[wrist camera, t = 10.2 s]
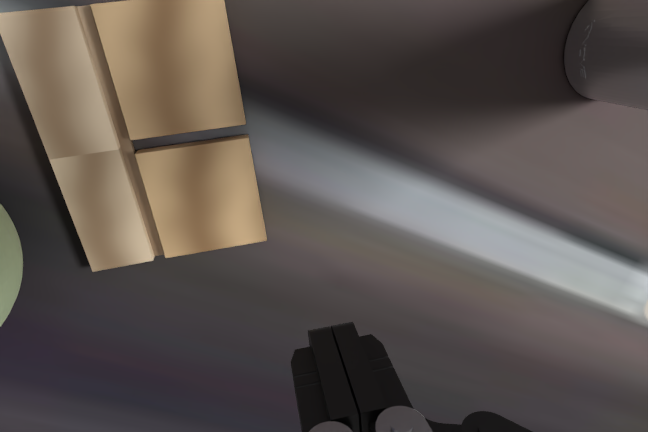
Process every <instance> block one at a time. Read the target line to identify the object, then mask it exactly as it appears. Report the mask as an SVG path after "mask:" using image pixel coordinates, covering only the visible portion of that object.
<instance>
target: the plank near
mask: <svg viewBox="0 0 648 432" xmlns="http://www.w3.org/2000/svg"><path fill="white" fill-rule="evenodd" d="M90 6H91V9H92V12H93V16H94V19H95V23H96V26H97V29H98V33H99V36H100V39H101V43H102V46H103V49H104V53H105V56H106V59H107V63H108V66H109V70H110V73H111V76H112V80H113V83H114V86H115V90H116V93H117V96H118V100H119V103H120V106H121V110H122V113H123V116H124V120H125V123H126V127H127V130H128V133H129V137H130V140H137V139H144V138H151V137H159V136H166V135H173V134H180V133H187V132H195V131H202V130H209V129H216V128H223V127H231V126H238V125H245V124H246V119H245V114H244V108H243V103H242V97H241V91H240V86H239V80H238V75H237V69H236V63H235V58H234V52H233V47H232V41H231V35H230V30H229V24H228V19H227V13H226V7H225V2H224V0H128V1H118V2H108V3H98V4H90Z"/></svg>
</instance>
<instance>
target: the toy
mask: <svg viewBox="0 0 648 432" xmlns="http://www.w3.org/2000/svg"><path fill="white" fill-rule="evenodd" d="M22 272H23V256H22V248H21V244H20V239H19V236H18V233H17V231H16V228H15V226H14V224H13V222H12V220H11V219H10V217H9V215H8V213H7V212H6V210H5V209H4V208H3V206H2V205H1V204H0V326H1V325H2V324H3V322H4V321H5V319H6V318H7V316H8V315H9V313H10V311H11V309H12V307H13V304H14V302H15V300H16V298H17V295H18V292H19V289H20V285H21V280H22Z"/></svg>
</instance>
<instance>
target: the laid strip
mask: <svg viewBox="0 0 648 432" xmlns="http://www.w3.org/2000/svg"><path fill="white" fill-rule="evenodd" d="M0 34H1V37H2V39H3V42H4V45H5V47H6V50H7V52H8V55H9V57H10V60H11V63H12V65H13V68H14V70H15V73H16V75H17V78H18V81H19V83H20V86H21V88H22V91H23V93H24V96H25V99H26V101H27V104H28V106H29V109H30V112H31V114H32V117H33V119H34V122H35V124H36V127H37V130H38V132H39V135H40V137H41V140H42V142H43V145H44V148H45V150H46V153H47V155H48V158H49V160H50V163H51V166H52V168H53V171H54V173H55V176H56V179H57V181H58V184H59V186H60V189H61V191H62V194H63V197H64V199H65V202H66V204H67V207H68V209H69V212H70V215H71V217H72V220H73V222H74V225H75V227H76V230H77V233H78V235H79V238H80V240H81V243H82V245H83V248H84V251H85V253H86V256H87V258H88V261H89V264H90V266H91V269H92V271H93V272H94V271H100V270H105V269H110V268H116V267H121V266H126V265H132V264H137V263H142V262H148V261H153V259H154V256H158V255H164V251H163V247H162V244H161V240H160V237H159V234H158V230H157V227H156V224H155V220H154V217H153V214H152V210H151V207H150V204H149V200H148V197H147V194H146V190H145V187H144V183H143V180H142V177H141V173H140V170H139V167H138V163H137V160H136V157H135V153H136V152H135V149H134V146H133V142H132V140H130V137H129V133H128V130H127V127H126V123H125V120H124V116H123V113H122V110H121V106H120V103H119V100H118V96H117V93H116V90H115V86H114V83H113V80H112V76H111V73H110V70H109V66H108V63H107V59H106V56H105V53H104V49H103V46H102V43H101V39H100V36H99V33H98V29H97V26H96V23H95V19H94V16H93V12H92V9H91V6H90V5H87V6H68V7H58V8H48V9H37V10H27V11H17V12H7V13H0Z"/></svg>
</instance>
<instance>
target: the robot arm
mask: <svg viewBox="0 0 648 432" xmlns="http://www.w3.org/2000/svg"><path fill="white" fill-rule="evenodd" d="M564 64H565V71H566V75H567V78H568V80H569V83H570V84H571V85H572V87H573V88H574V90H575V91H576V92H578V93H579V94H580V95H582V96H584V97H586V98H589V99H593V100H598V101H603V102H608V103H614V104H619V105H624V106H628V107H634V108H639V109H644V110H648V0H589V1H588V2H587V3H586V4H585V5H584V7H583V8H582V9H581V10H580V12H579V13H578V15H577V17H576V19H575V20H574V22H573V24H572V26H571V29H570V32H569V34H568V37H567V41H566V46H565V53H564ZM308 337H309V345H310V347H306V348H301V349H296V350H295V352H294V354H293V357H292V360H291V368H292V374H293V381H294V387H295V394H296V400H297V406H298V412H299V418H300V424H301V430H302V432H532V431H530V430H528V429H526V428H524V427H522V426H520V425H518V424H516V423H514V422H512V421H510V420H508V419H506V418H504V417H502V416H500V415H498V414H495V413H492V412H486V411H479V412H474V413H472V414H470V415H468V416H467V417H466V418H465V419H464V420H463V423H462V425H457V424H443V423H437V422H433V421H430V420H428V419H426V418H424V417H423V416H422V415H421V414H420V413H419V412H418V411H416V410H415V409H414V408H413V407H412V405H411V403H410V401H409V399H408V397H407V395H406V393H405V390H404V388H403V386H402V384H401V382H400V380H399V378H398V376H397V374H396V372H395V369H394V368H393V365H392V363H391V361H390V359H389V358H388V355H387V353H386V350H385V348H384V346H383V344H382V343H381V342H380V341H379V340H377V339H376V338H375V337H374V336H373V335H371V334H370V335H365V336H360V337H359V335H358V333H357V331H356V328H355V326H354V323H353V322H349V323H343V324H338V325H333V326H331V328H330V327H324V328H318V329H313V330H308Z"/></svg>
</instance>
